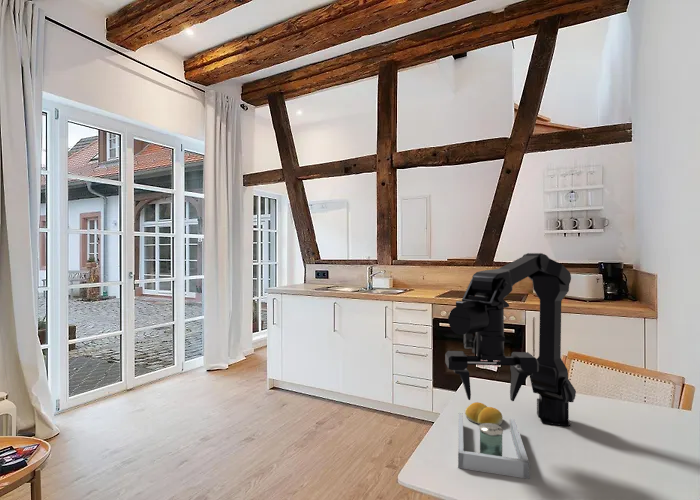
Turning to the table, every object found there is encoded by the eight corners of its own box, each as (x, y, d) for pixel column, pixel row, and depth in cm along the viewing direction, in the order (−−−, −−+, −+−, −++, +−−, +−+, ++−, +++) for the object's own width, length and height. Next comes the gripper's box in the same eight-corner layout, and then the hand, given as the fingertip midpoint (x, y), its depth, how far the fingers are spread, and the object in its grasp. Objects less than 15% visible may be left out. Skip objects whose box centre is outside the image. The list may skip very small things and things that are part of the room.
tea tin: (503, 465, 77) (504, 434, 77) (480, 461, 79) (480, 431, 79) (501, 453, 82) (501, 424, 82) (478, 450, 83) (479, 421, 83)
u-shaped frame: (514, 431, 92) (514, 419, 92) (529, 478, 73) (529, 462, 73) (458, 424, 95) (458, 412, 95) (458, 467, 76) (458, 452, 76)
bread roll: (492, 431, 93) (493, 414, 93) (460, 419, 99) (460, 403, 99) (509, 421, 98) (509, 406, 98) (477, 410, 105) (477, 396, 105)
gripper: (521, 322, 91) (521, 388, 91) (441, 321, 93) (442, 385, 93) (539, 332, 80) (540, 407, 80) (448, 331, 82) (449, 404, 82)
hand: (490, 399), depth 84 cm, fingers open, 9 cm apart
